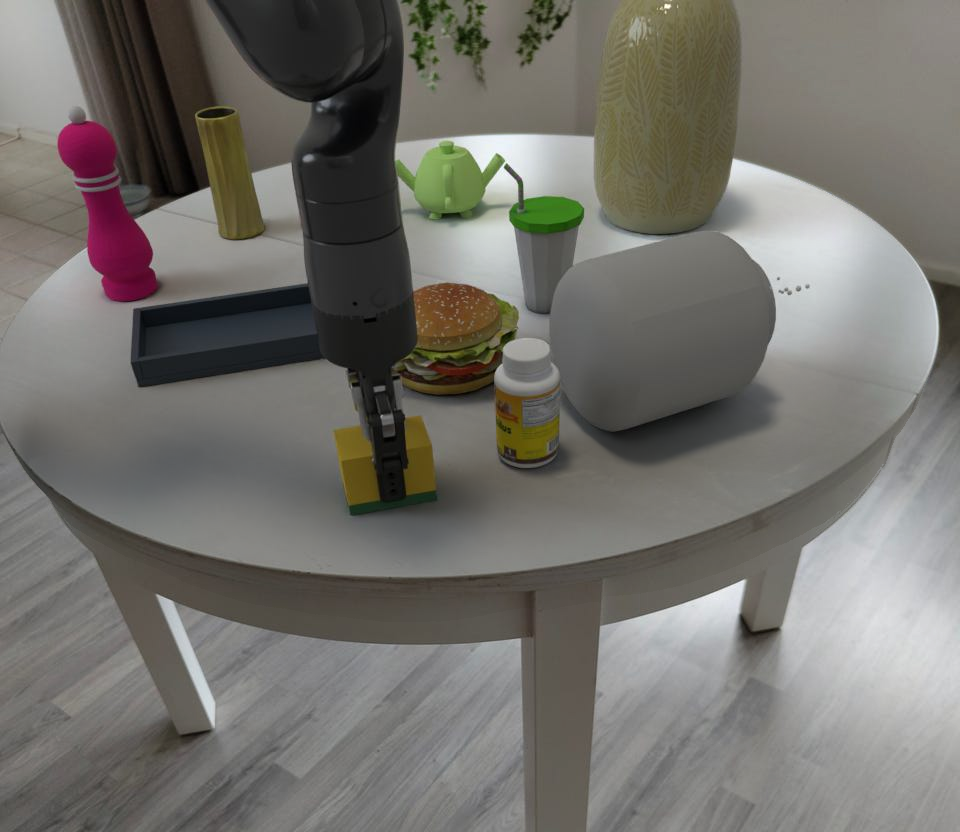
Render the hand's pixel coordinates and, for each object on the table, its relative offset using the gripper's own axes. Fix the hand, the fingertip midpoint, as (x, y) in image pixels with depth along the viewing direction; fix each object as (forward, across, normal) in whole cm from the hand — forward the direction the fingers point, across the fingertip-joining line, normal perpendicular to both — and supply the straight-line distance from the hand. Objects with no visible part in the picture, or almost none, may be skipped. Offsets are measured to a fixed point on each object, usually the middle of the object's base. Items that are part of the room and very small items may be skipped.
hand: (388, 480), depth 80 cm
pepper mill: (+1, -50, -23) cm, 55 cm away
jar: (+1, -9, +30) cm, 31 cm away
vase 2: (+1, -50, +44) cm, 67 cm away
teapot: (+1, -62, +19) cm, 65 cm away
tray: (+1, -32, -11) cm, 34 cm away
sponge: (+1, 0, 0) cm, 1 cm away
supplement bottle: (+1, -2, +13) cm, 13 cm away
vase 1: (+1, -64, -9) cm, 65 cm away
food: (+1, -19, +10) cm, 22 cm away
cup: (+1, -30, +23) cm, 38 cm away
